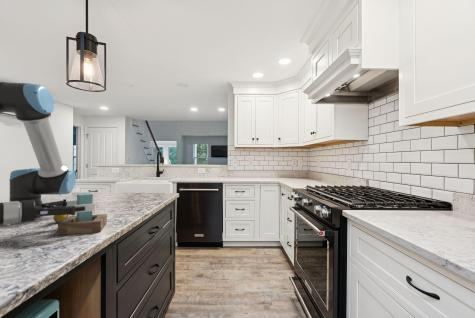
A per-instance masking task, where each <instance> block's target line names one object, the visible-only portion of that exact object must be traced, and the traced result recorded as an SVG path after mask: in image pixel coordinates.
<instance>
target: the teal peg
mask: <svg viewBox="0 0 475 318" xmlns="http://www.w3.org/2000/svg"><path fill="white" fill-rule="evenodd" d="M93 197H94V195H93V194H92V193H89V192H88V193H78V194H76V200H77V205H84V204H94V203H93V200H94V199H93ZM92 215H93V211H88V212H79V213H76V216H77V221H92Z"/></svg>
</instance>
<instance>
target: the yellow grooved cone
mask: <svg viewBox="0 0 475 318" xmlns="http://www.w3.org/2000/svg"><path fill="white" fill-rule="evenodd" d="M68 217H69V215H53V222H55V223H57V224H59V223H61V222H62V221H64V220H65V219H66V218H68Z"/></svg>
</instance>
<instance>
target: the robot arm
mask: <svg viewBox="0 0 475 318" xmlns="http://www.w3.org/2000/svg"><path fill="white" fill-rule="evenodd" d="M54 110H55V100H54V97H53V94H52V92H51V91H50V90H49V89H48V88H47V87H45V86H43V85H42V84H37V83H31V82H30V83H28V82H27V83H26V82H25V83H23V82H6V81H0V115H1V114H3V113H14V114H15V117H16V119H17V121H20V122H22V123H23V125H24V128H25V130H26V133H27V136H28V138H29V141H30V143H31V147H32V149H33V152H34V154H35V158H36V160H37V163H38V166H39V167H33V168H32V167H31V168H24V169H23V168H22V169H14V170H12V171H11V172H10V174H9V179H8V180H9V201H4V202H0V226H3V225H5V226H8V227H10V226H11V225H12V224H18V223H20V222H21V223H29V222H34V221H36V218H40V217H46V216H54V215H68V216H69V215H70V216H76V215H75V214H77V213H79V212H88V211H92V212H93V211H95V203H93V204H84V205H77V199H74V200H67V199H66V198H65V199H62V200H58V201H51V202H45V203H44V202H43V201H42V196H43V195H45V196H46V195H51V196H52V195H58V196H62V195H69V194H71V192H73V190H74V188H75V185H76V183H77V181H76V180H77V177H76V176H77V173H75V171H73V170H69V168H68V166H67V164H65V163H63V160H62V158H61V155H60V154H61V153H60V152H59V149H58V146H57V141H56V139H55V135H54V132H53V130H52V126H51V123H50V120H49V119H50V117H51V116H52V113H53V112H54Z"/></svg>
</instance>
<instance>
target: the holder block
mask: <svg viewBox="0 0 475 318" xmlns="http://www.w3.org/2000/svg"><path fill="white" fill-rule="evenodd" d="M107 215H108V214H107V213H105V214H104V213H103V214H92V221H77V215H73V216H72V215H70V216H69V215H68V218H66V219H65V220H64V221H62V222H61V223H57V236H65V235H66V236H67V235H80V234H91V233H101V232H102V230H103V229H104V228H105V226H106V225H107V224H108V223H107V221H108V220H107V218H108V216H107Z"/></svg>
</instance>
